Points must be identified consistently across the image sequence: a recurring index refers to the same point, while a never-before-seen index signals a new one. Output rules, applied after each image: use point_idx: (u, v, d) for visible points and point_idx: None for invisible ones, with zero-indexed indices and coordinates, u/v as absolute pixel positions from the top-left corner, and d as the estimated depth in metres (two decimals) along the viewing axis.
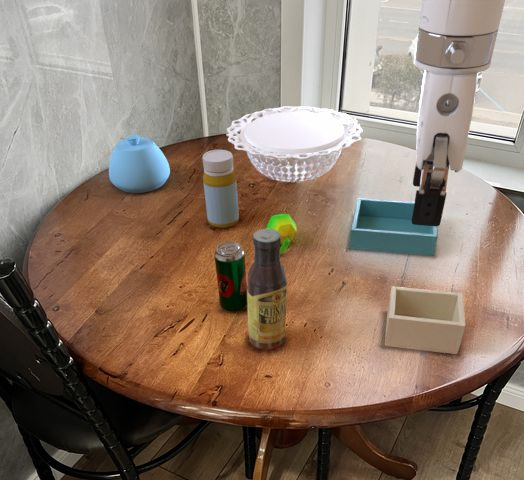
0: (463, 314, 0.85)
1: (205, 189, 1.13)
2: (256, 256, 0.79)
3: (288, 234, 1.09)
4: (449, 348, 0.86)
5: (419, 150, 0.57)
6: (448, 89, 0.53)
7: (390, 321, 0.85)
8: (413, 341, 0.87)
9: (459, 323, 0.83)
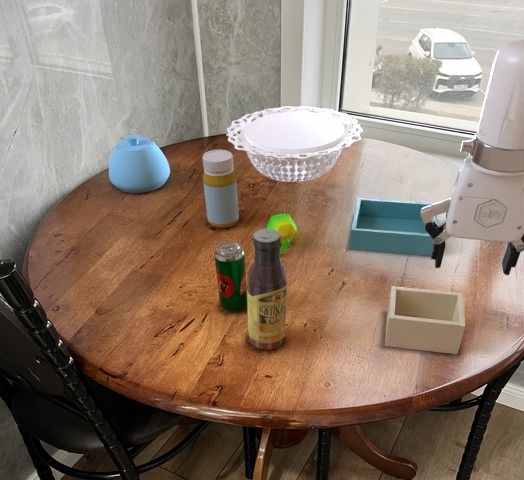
0: (463, 314, 0.85)
1: (205, 189, 1.13)
2: (256, 256, 0.79)
3: (288, 234, 1.09)
4: (449, 348, 0.86)
5: None
6: None
7: (390, 321, 0.85)
8: (413, 341, 0.87)
9: (459, 323, 0.83)
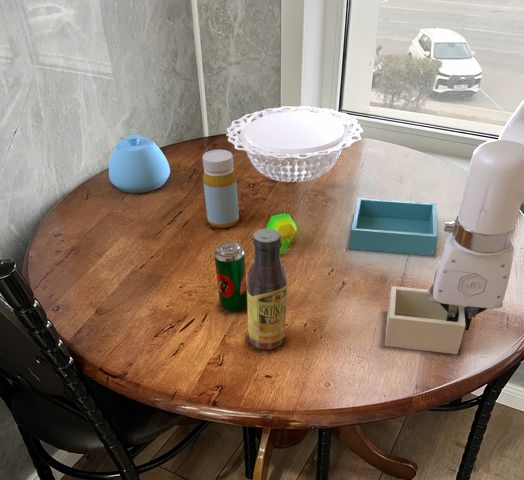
0: (463, 314, 0.85)
1: (205, 189, 1.13)
2: (256, 256, 0.79)
3: (288, 234, 1.09)
4: (449, 348, 0.86)
5: None
6: (445, 245, 0.79)
7: (390, 321, 0.85)
8: (413, 341, 0.87)
9: (459, 323, 0.83)
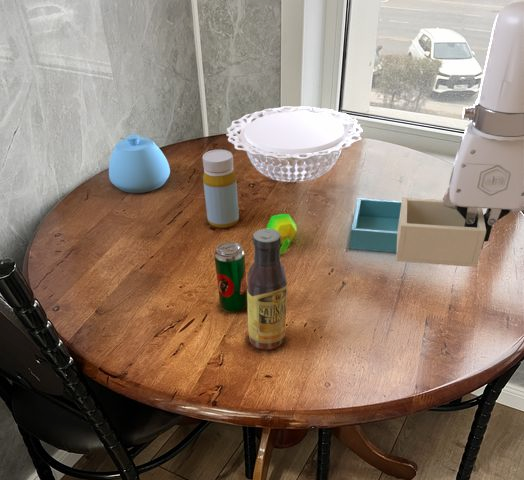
0: (483, 220, 0.76)
1: (205, 189, 1.13)
2: (256, 256, 0.79)
3: (288, 234, 1.09)
4: (467, 260, 0.78)
5: None
6: (463, 136, 0.71)
7: (402, 230, 0.77)
8: (428, 253, 0.79)
9: (479, 228, 0.75)
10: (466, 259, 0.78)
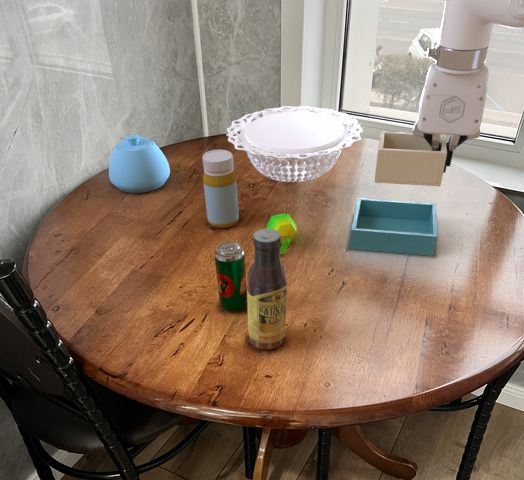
0: (445, 146, 0.93)
1: (205, 189, 1.13)
2: (256, 256, 0.79)
3: (288, 234, 1.09)
4: (433, 180, 0.95)
5: None
6: None
7: (379, 153, 0.94)
8: (400, 175, 0.95)
9: (441, 151, 0.92)
10: (431, 179, 0.95)
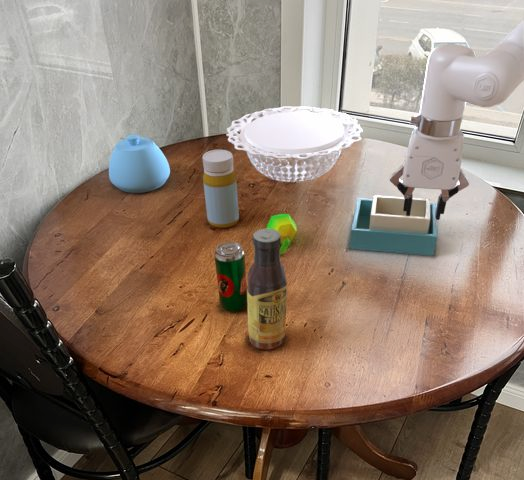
0: (429, 212, 1.07)
1: (205, 189, 1.13)
2: (256, 256, 0.79)
3: (288, 234, 1.09)
4: None
5: None
6: None
7: (371, 218, 1.08)
8: None
9: (425, 217, 1.06)
10: None
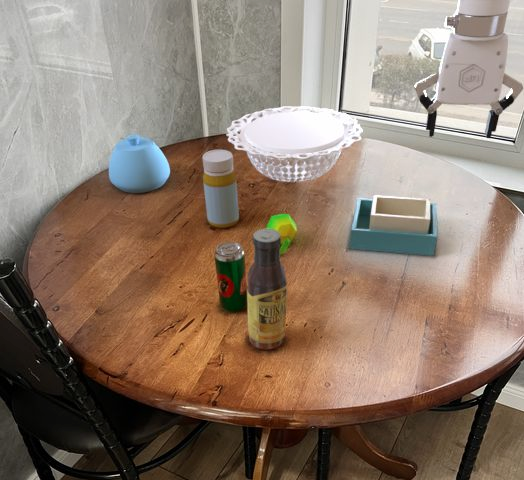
0: (429, 212, 1.07)
1: (205, 189, 1.13)
2: (256, 256, 0.79)
3: (288, 234, 1.09)
4: None
5: None
6: None
7: (371, 218, 1.08)
8: None
9: (425, 217, 1.06)
10: None
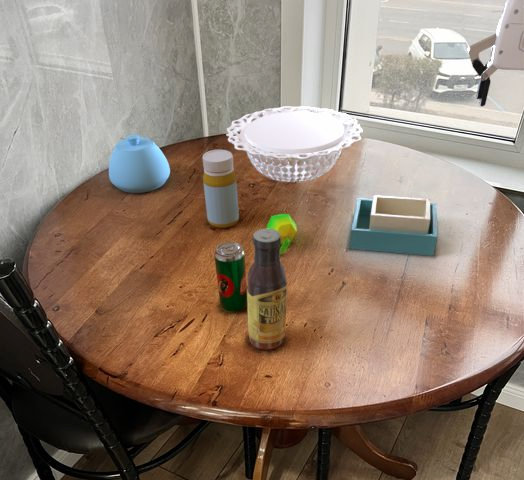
0: (429, 212, 1.07)
1: (205, 189, 1.13)
2: (256, 256, 0.79)
3: (288, 234, 1.09)
4: None
5: None
6: None
7: (371, 218, 1.08)
8: None
9: (425, 217, 1.06)
10: None
